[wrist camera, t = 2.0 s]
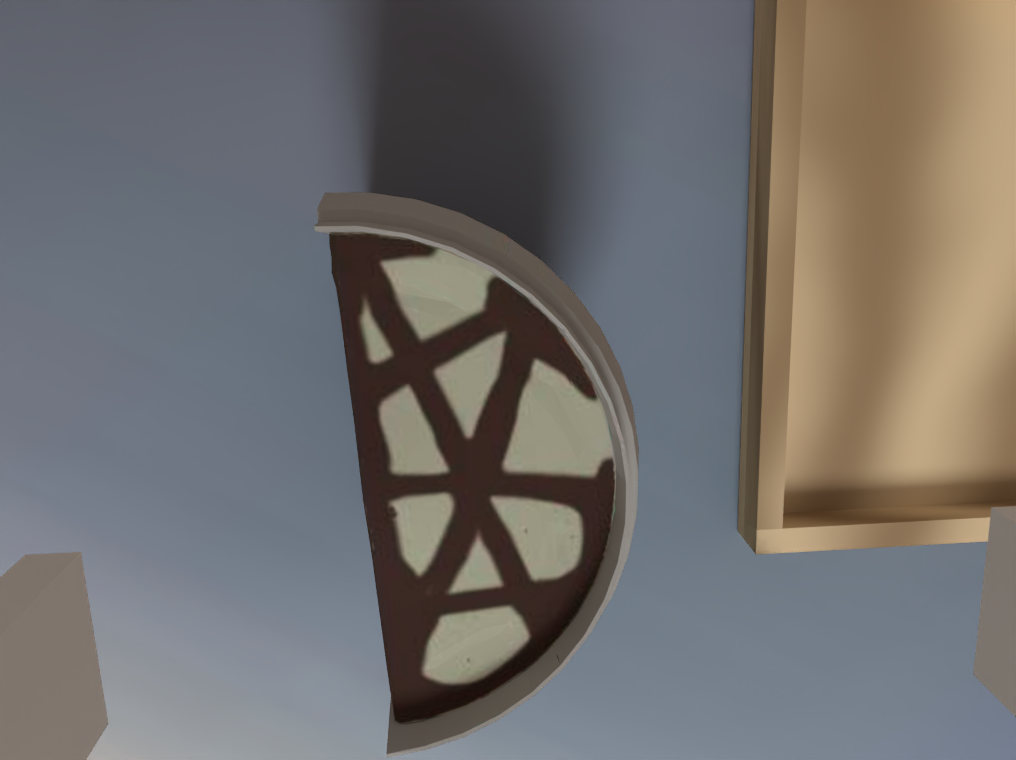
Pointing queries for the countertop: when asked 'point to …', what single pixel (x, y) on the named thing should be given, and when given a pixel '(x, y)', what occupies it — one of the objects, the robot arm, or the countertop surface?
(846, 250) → the tray
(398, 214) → the brown white half-round block
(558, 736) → the countertop surface
